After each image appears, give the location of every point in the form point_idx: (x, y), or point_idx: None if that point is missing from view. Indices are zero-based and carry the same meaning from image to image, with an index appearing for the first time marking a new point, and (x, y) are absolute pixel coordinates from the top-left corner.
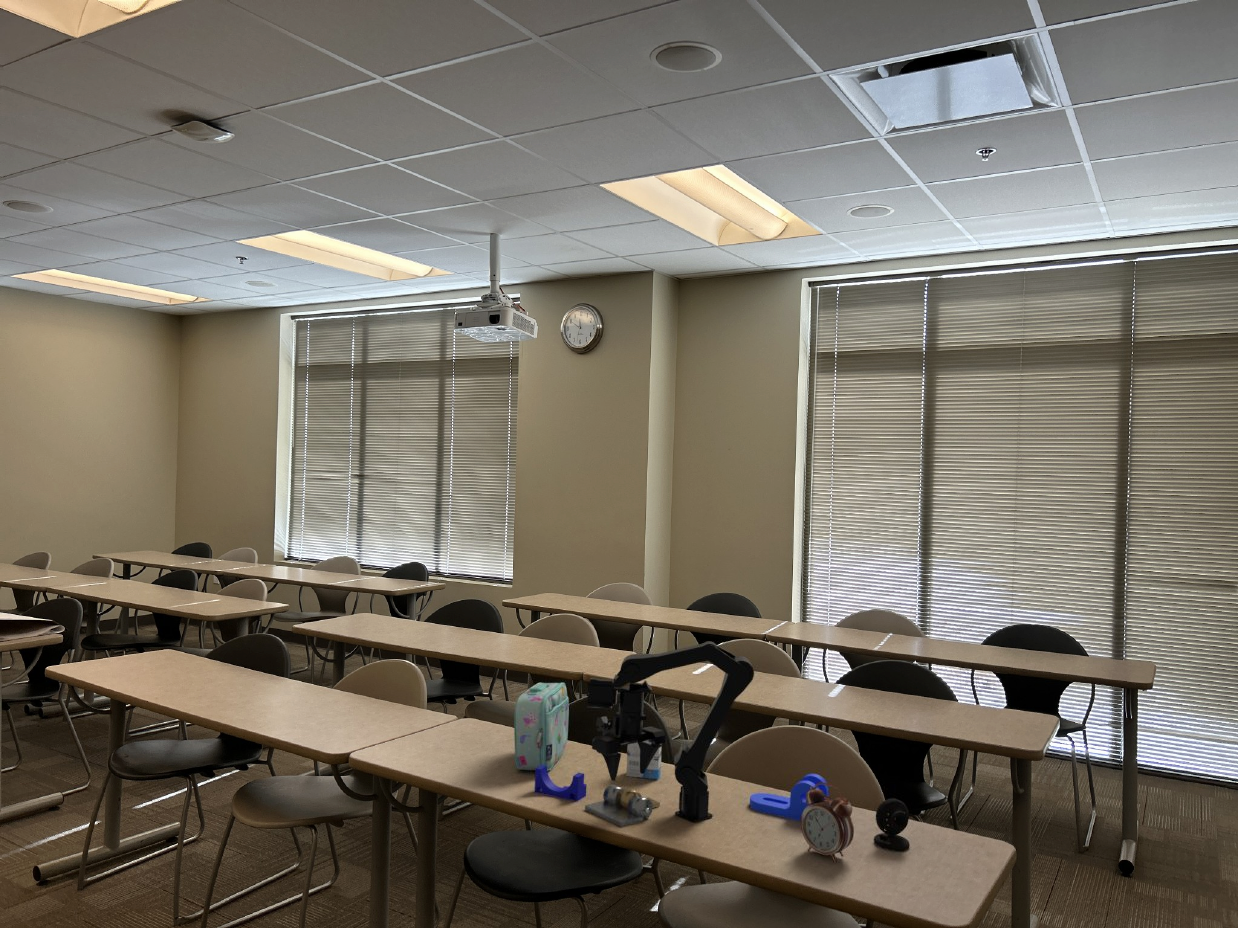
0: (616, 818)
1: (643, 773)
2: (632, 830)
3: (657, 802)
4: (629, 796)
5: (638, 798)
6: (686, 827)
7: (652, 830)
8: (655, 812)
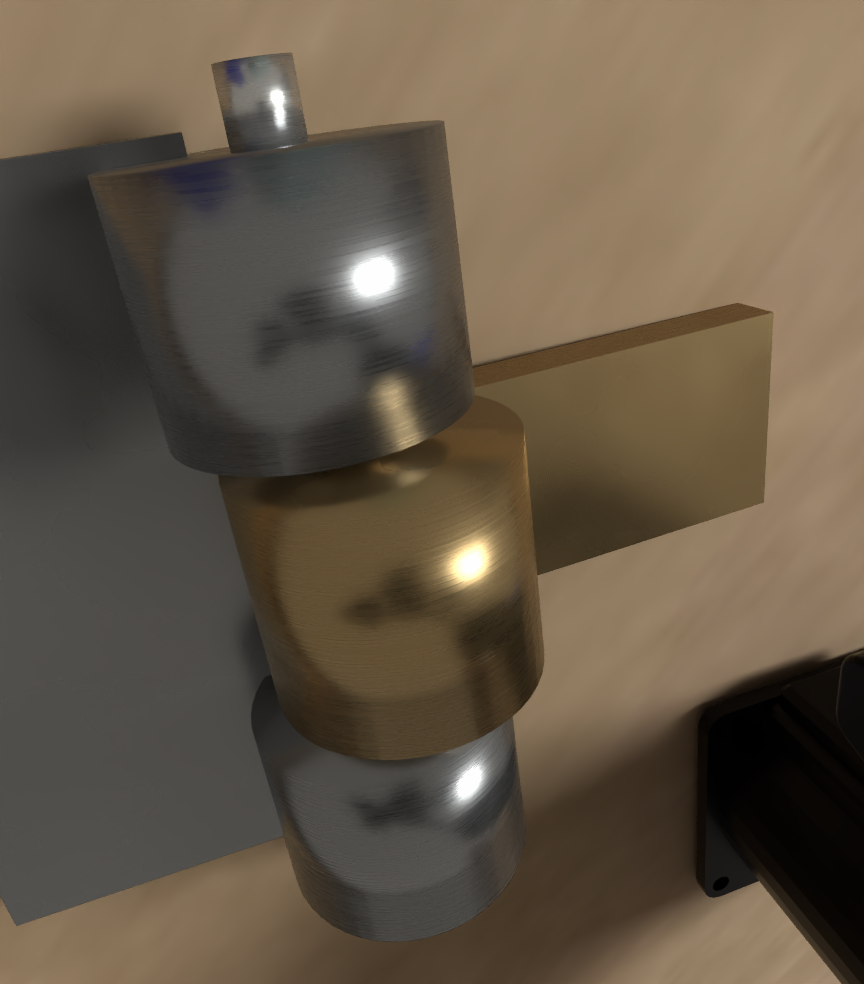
0: (5, 818)
1: (846, 731)
2: (105, 959)
3: (739, 496)
4: (330, 738)
5: (388, 864)
6: (588, 942)
7: (295, 971)
8: (588, 617)
